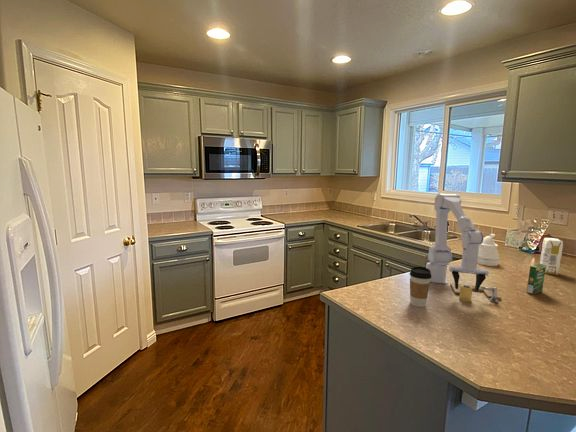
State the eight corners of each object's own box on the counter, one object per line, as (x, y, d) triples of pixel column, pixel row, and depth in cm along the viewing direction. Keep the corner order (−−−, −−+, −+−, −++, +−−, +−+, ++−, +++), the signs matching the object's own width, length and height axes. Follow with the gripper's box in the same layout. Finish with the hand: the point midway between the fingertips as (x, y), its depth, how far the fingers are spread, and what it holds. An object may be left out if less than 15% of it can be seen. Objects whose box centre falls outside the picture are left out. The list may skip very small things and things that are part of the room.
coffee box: (532, 295, 144) (536, 267, 142) (525, 292, 147) (529, 265, 145) (542, 292, 148) (546, 265, 146) (535, 290, 150) (539, 263, 148)
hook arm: (480, 300, 137) (482, 287, 136) (478, 297, 140) (480, 284, 139) (498, 302, 135) (500, 289, 134) (496, 300, 138) (497, 286, 137)
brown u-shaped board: (455, 294, 143) (455, 292, 143) (450, 285, 154) (450, 282, 154) (501, 300, 137) (501, 297, 137) (492, 290, 149) (492, 287, 149)
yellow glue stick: (460, 301, 136) (461, 286, 135) (458, 297, 140) (459, 283, 139) (472, 302, 134) (473, 288, 133) (469, 298, 139) (471, 284, 138)
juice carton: (542, 273, 175) (547, 240, 173) (537, 269, 183) (542, 237, 180) (559, 275, 173) (565, 241, 170) (553, 271, 181) (558, 238, 178)
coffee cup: (427, 301, 134) (431, 267, 132) (429, 309, 126) (433, 273, 124) (406, 298, 137) (409, 265, 135) (407, 306, 129) (410, 271, 127)
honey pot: (497, 262, 196) (501, 233, 193) (498, 267, 185) (502, 237, 183) (473, 258, 203) (477, 230, 200) (472, 263, 192) (476, 234, 189)
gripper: (452, 259, 133) (449, 290, 135) (492, 263, 128) (488, 295, 130) (449, 255, 139) (446, 284, 141) (487, 258, 135) (483, 289, 137)
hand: (466, 289), depth 136 cm, fingers open, 7 cm apart
